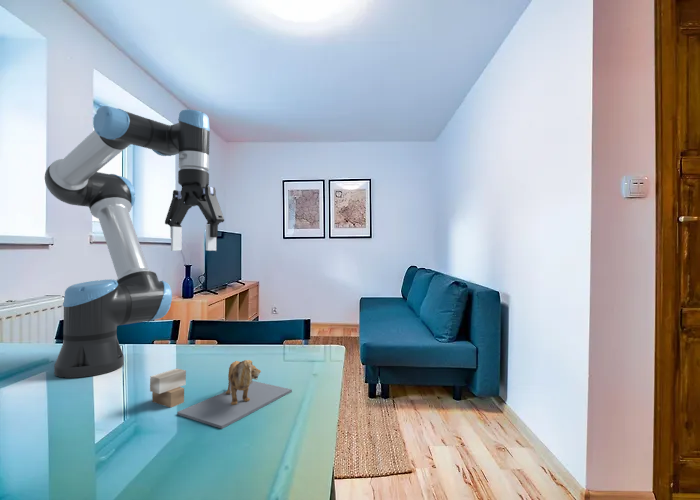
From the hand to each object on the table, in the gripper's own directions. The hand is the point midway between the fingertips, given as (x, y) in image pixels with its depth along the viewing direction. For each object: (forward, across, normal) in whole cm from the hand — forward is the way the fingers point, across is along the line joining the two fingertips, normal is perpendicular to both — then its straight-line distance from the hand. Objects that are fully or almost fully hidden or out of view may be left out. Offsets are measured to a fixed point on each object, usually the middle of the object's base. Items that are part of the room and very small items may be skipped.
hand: (193, 250), depth 96 cm
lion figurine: (+31, +25, -8) cm, 41 cm away
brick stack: (+32, +13, -16) cm, 38 cm away
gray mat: (+32, +26, -9) cm, 42 cm away
